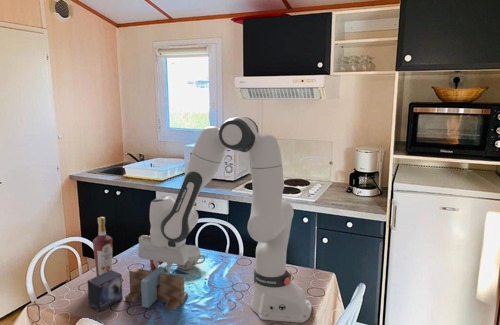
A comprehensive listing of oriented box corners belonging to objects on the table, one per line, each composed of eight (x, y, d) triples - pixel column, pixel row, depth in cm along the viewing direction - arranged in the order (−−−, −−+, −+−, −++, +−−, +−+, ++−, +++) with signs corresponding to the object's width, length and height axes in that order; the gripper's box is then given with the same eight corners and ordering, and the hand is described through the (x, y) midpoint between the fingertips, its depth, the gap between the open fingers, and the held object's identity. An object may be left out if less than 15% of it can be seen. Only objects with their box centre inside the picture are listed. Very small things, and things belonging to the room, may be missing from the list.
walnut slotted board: (189, 296, 143) (188, 272, 141) (176, 310, 133) (175, 285, 131) (139, 286, 149) (138, 263, 147) (124, 299, 140) (123, 275, 138)
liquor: (101, 289, 146) (96, 222, 141) (92, 283, 151) (87, 218, 146) (118, 282, 152) (114, 217, 147) (108, 277, 157) (105, 213, 152)
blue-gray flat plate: (148, 307, 133) (146, 282, 131) (142, 306, 134) (140, 281, 132) (170, 286, 148) (169, 262, 146) (164, 285, 149) (164, 261, 147)
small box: (99, 312, 131) (97, 285, 129) (87, 307, 135) (86, 280, 133) (123, 299, 140) (122, 273, 138) (112, 294, 144) (110, 269, 142)
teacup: (167, 272, 162) (167, 254, 160) (178, 259, 174) (178, 243, 173) (200, 275, 159) (200, 258, 158) (209, 263, 171) (209, 246, 170)
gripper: (134, 237, 142) (135, 270, 144) (182, 244, 136) (182, 279, 138) (143, 231, 148) (144, 263, 150) (189, 238, 142) (190, 271, 144)
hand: (163, 271), depth 144 cm, fingers closed on blue-gray flat plate, 2 cm apart
